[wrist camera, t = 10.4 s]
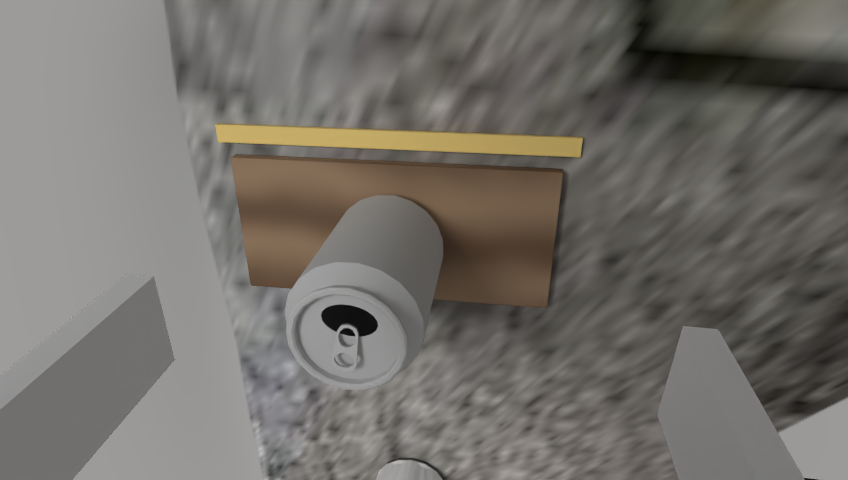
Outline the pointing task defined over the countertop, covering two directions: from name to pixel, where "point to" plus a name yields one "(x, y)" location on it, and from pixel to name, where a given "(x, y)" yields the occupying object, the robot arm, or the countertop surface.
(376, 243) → the can
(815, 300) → the countertop surface
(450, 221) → the board
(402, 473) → the cup
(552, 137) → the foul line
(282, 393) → the countertop surface
